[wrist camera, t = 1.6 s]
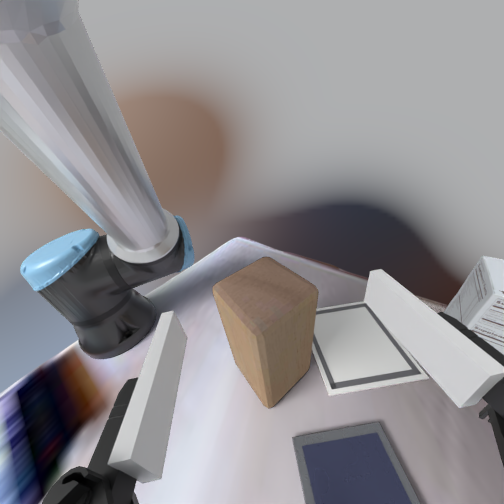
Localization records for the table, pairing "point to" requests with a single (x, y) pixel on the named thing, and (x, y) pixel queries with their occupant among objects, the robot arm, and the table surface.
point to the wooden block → (268, 325)
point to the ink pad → (351, 468)
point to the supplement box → (482, 302)
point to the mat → (359, 351)
